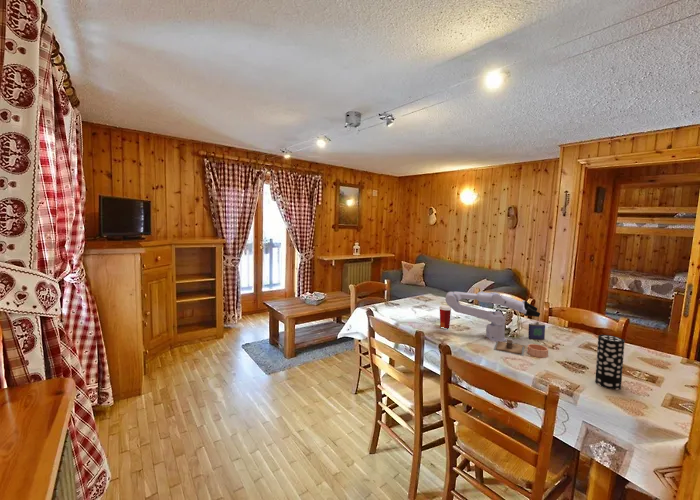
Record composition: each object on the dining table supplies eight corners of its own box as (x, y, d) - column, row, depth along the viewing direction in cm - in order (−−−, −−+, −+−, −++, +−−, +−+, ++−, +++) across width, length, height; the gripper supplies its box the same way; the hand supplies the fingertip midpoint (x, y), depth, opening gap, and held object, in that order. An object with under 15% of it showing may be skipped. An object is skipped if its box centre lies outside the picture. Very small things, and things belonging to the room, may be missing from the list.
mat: (493, 350, 162) (493, 349, 162) (496, 342, 174) (496, 341, 174) (523, 356, 155) (523, 355, 155) (524, 347, 166) (524, 346, 166)
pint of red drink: (450, 326, 201) (451, 305, 200) (450, 330, 194) (451, 308, 193) (438, 325, 204) (439, 304, 203) (438, 328, 197) (438, 307, 196)
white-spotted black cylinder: (590, 379, 131) (593, 335, 130) (607, 379, 132) (610, 334, 130) (607, 390, 123) (611, 342, 122) (626, 389, 124) (630, 341, 122)
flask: (543, 338, 181) (543, 320, 180) (546, 340, 178) (546, 322, 177) (527, 338, 181) (528, 320, 180) (529, 339, 178) (530, 322, 177)
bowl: (534, 358, 153) (534, 350, 153) (523, 351, 162) (524, 344, 162) (551, 358, 153) (552, 350, 153) (540, 351, 162) (540, 344, 162)
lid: (495, 349, 162) (496, 342, 162) (498, 342, 172) (498, 336, 172) (521, 354, 156) (521, 347, 156) (522, 347, 166) (522, 340, 166)
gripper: (516, 301, 167) (543, 311, 163) (513, 293, 181) (538, 302, 176) (511, 313, 169) (538, 322, 165) (509, 304, 183) (533, 312, 178)
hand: (538, 312), depth 171 cm, fingers open, 7 cm apart
